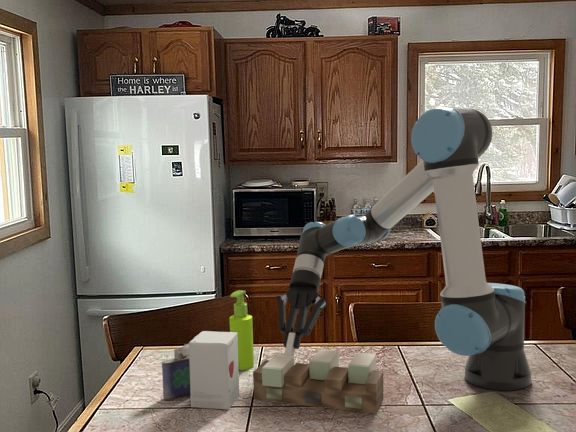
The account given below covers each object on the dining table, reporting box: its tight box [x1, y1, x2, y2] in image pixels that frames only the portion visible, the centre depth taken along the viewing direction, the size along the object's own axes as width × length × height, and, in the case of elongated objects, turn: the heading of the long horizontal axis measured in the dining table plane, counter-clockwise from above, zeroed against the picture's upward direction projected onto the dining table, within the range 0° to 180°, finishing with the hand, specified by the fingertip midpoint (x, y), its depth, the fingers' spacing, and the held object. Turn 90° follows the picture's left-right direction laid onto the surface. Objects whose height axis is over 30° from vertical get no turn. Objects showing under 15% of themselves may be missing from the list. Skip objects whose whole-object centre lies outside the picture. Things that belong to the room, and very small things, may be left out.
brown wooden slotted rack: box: [252, 359, 384, 415], centre depth 144 cm, size 28×8×6 cm, turn 71°
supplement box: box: [188, 330, 240, 410], centre depth 144 cm, size 9×9×15 cm
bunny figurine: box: [173, 343, 189, 358], centre depth 169 cm, size 10×5×15 cm
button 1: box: [262, 354, 295, 387], centre depth 145 cm, size 4×9×4 cm, turn 161°
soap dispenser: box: [228, 289, 255, 371], centre depth 165 cm, size 6×7×20 cm
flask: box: [161, 350, 191, 402], centre depth 148 cm, size 9×3×11 cm, turn 121°
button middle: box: [308, 348, 340, 380], centre depth 149 cm, size 4×9×4 cm, turn 161°
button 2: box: [347, 352, 377, 384], centre depth 146 cm, size 4×9×4 cm, turn 161°
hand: (287, 359), depth 152 cm, fingers closed
